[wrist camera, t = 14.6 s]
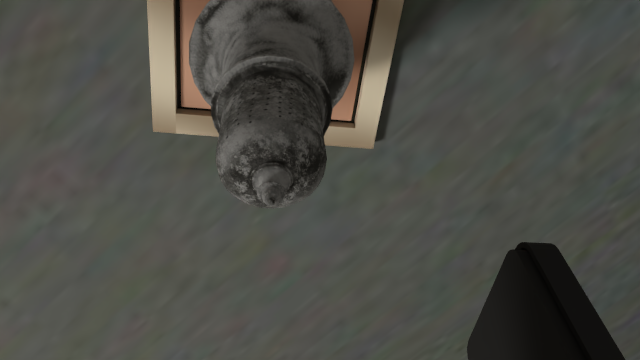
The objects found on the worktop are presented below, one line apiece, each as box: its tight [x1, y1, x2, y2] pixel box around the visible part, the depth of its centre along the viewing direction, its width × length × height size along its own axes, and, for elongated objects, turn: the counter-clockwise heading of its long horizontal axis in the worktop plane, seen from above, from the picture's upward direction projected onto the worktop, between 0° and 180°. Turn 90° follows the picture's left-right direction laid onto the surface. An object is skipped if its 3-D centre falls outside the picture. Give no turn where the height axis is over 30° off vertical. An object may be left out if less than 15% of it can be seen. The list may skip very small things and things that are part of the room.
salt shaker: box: [189, 0, 355, 209], centre depth 18 cm, size 6×6×12 cm
